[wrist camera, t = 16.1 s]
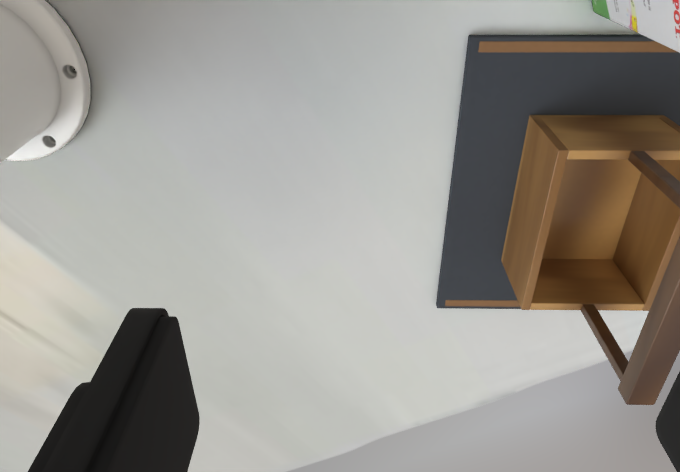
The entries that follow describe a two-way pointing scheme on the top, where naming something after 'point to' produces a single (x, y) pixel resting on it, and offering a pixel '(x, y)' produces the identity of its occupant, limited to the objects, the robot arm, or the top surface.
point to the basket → (602, 233)
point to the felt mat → (510, 129)
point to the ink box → (645, 18)
